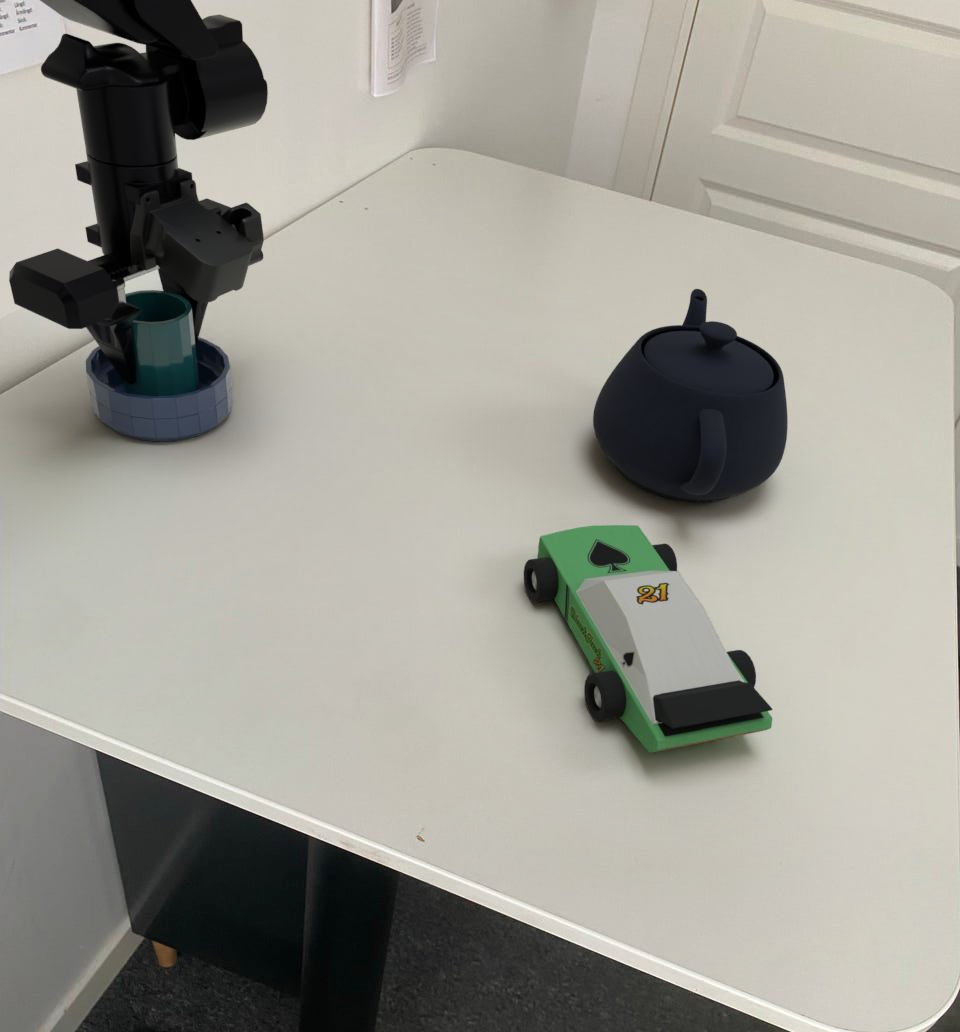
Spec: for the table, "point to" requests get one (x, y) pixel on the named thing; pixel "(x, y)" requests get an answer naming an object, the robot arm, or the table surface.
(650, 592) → the toy car
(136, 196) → the robot arm
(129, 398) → the bowl
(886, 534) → the table surface
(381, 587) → the table surface
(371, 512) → the table surface
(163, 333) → the cup
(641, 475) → the teapot
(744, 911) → the table surface
